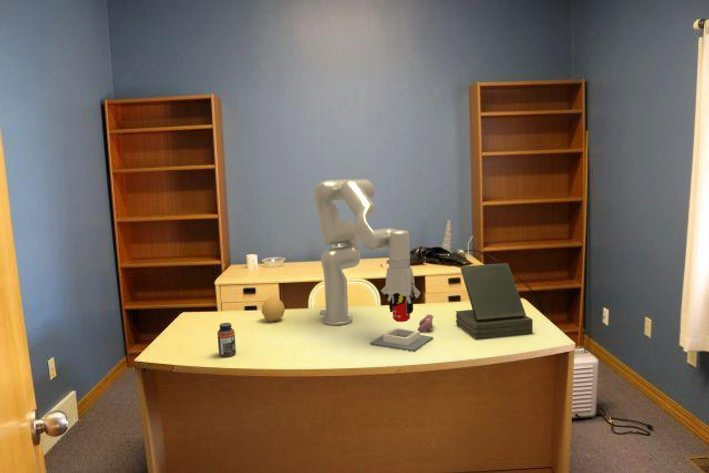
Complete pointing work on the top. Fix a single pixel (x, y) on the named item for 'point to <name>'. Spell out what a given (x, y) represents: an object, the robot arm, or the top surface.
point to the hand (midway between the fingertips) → (401, 311)
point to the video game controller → (425, 323)
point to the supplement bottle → (226, 340)
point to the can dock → (402, 339)
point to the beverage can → (400, 308)
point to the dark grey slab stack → (492, 303)
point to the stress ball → (273, 309)
